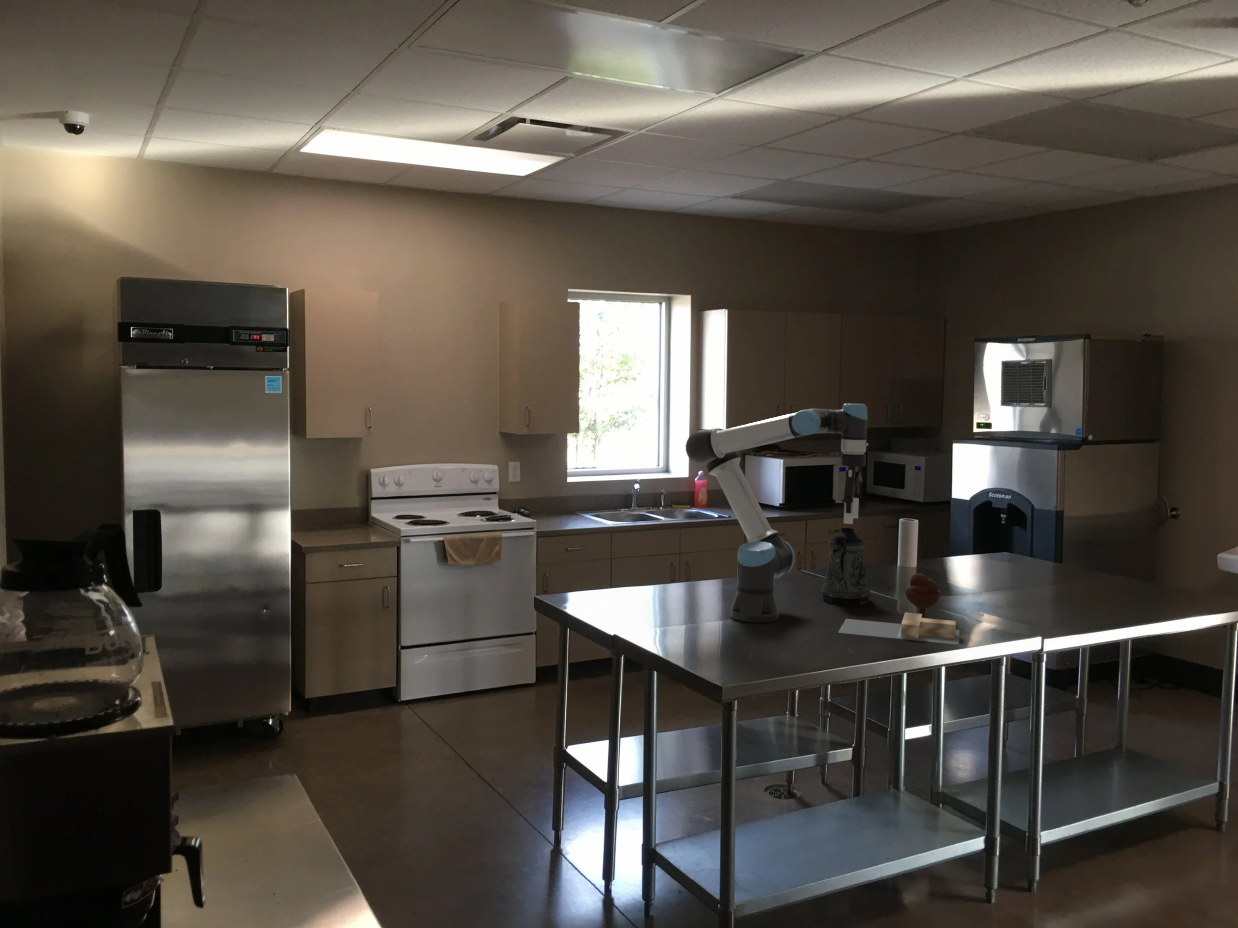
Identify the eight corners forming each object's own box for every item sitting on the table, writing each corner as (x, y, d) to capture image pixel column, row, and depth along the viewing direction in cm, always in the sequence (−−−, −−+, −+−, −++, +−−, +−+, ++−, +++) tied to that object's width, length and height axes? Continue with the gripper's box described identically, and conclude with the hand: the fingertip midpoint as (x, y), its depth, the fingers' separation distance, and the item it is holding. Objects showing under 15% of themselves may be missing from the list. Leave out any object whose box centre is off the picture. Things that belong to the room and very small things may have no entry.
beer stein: (866, 596, 352) (869, 525, 350) (874, 608, 333) (877, 534, 331) (818, 594, 354) (821, 524, 352) (824, 606, 335) (827, 532, 333)
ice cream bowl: (916, 625, 310) (918, 577, 309) (897, 617, 321) (899, 571, 320) (946, 623, 313) (948, 576, 312) (926, 615, 324) (928, 569, 323)
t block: (900, 637, 293) (901, 623, 293) (904, 625, 308) (905, 612, 308) (954, 642, 288) (955, 629, 288) (955, 630, 303) (956, 617, 303)
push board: (837, 633, 298) (837, 632, 298) (845, 619, 316) (845, 618, 316) (958, 645, 286) (958, 644, 286) (959, 630, 304) (959, 629, 304)
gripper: (861, 456, 298) (858, 526, 300) (870, 451, 321) (867, 516, 323) (835, 455, 300) (833, 525, 302) (846, 450, 324) (843, 515, 325)
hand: (851, 520), depth 313 cm, fingers open, 13 cm apart
